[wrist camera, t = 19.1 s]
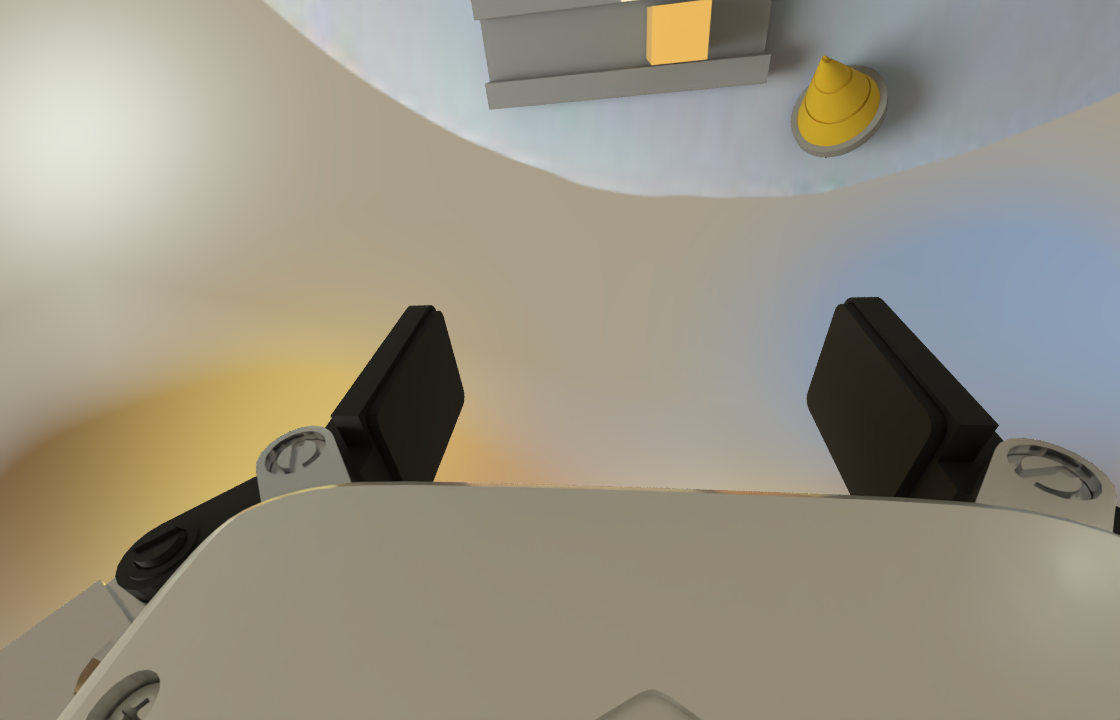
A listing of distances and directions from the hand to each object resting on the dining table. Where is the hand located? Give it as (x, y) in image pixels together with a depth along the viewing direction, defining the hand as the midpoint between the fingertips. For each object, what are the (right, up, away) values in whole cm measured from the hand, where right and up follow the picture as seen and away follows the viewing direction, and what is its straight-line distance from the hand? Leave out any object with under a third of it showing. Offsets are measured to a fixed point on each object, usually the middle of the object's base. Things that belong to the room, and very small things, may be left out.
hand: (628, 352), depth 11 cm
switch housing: (+2, +21, +19) cm, 29 cm away
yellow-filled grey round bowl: (+16, +18, +20) cm, 31 cm away
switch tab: (+5, +20, +17) cm, 27 cm away
